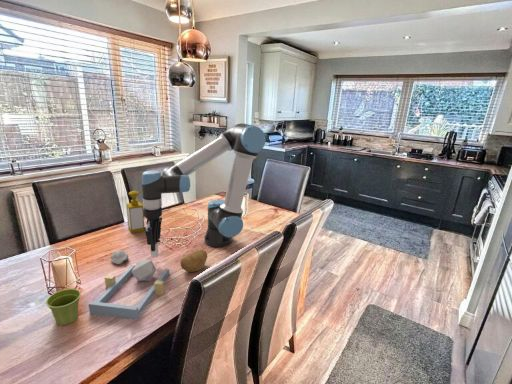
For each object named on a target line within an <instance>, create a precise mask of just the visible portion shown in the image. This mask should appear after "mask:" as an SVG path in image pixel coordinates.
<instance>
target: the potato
mask: <svg viewBox="0 0 512 384" xmlns="http://www.w3.org/2000/svg"><path fill="white" fill-rule="evenodd" d="M207 259H208V253H207V251H206V250H203V249H198V250H195V251H192V252H189V253H188V254H185V255H184V256H183V257H182V258H180V267H181V269H183V270H184V271H185V272H188V273H193V272H197V271H199V270H202V269H203V268H204V267H205V264H206V262H207Z"/></svg>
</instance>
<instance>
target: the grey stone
mask: <svg viewBox="0 0 512 384" xmlns="http://www.w3.org/2000/svg"><path fill="white" fill-rule="evenodd" d="M110 259H111V262H112V263H113V264H117V265H121V264H122V263H124V261H127V260H129V254H128V253H126V252H125V251H124V250H122V249H117V250H115V251H114V252H113V253H112V254H111V255H110Z"/></svg>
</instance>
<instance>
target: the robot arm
mask: <svg viewBox="0 0 512 384" xmlns="http://www.w3.org/2000/svg"><path fill="white" fill-rule="evenodd" d="M265 146H266V134H265V132H264V131H263V129H261V128H260V127H258V126H256V125H255V124H247V123H243V122H242V123H237V124H235V125H233V126H231V127H230V128H228V129H227V130H225V131H223V132H222V133H220V134H219V137H218V138H216V139H215V140H213V141H211V142H210V143H208V144H206V145H205V146H203V147H202V148H201V149H199V150H197V151H195V152H194V153H192V154H191V155H189V156H188V157H186V158H184V159H183V160H182V159H181V161H179V162H177V163H176V164H174V165H172V166H168V167H165V168H164V169H163V170H162V171H161V172H160V171H159V170H146V171H144V172H143V173H141V174H142V175H141V193H142V205H143V214H144V218H145V219H146V226H144V231H143V232H145V233H144V234H145V239H146V244H147V246H150V258H151V257H152V258H158V257H159V243H160V242H161V233H162V232H161V231H162V221H163V217H162V215H163V207H162V206H163V203H162V202H163V201H162V196H163V195H162V194H174V193H175V194H176V193H177V194H178V193H180V194H181V193H188V192H189V191H190V190H191V179H190V175H191V174H192V173H193V174H194V172H196V171H198V170H199V169H201V168H203V167H204V166H206V165H207V164H209V163H210V162H212V161H213V160H215V159H217V158H218V157H220V156H222V155H223V154H225V153H226V152H228V151H229V152H231V151H233V153H234V160H233V164H232V169H231V172H230V175H229V181H228V184H227V189H226V193H225V197H224V199H215V200H210V201H209V202H208V204H207V230H206V232H205V235H204V243H205V245H207V246H209V247H212V248H224V247H226V246H229V245H231V244H232V243H233V238H234V237H236V236H237V235H239V234H240V233H241V232H242V230H243V228H244V222H243V219H242V218H243V217H242V216H243V214H244V213H243V212H244V210H243V208H242V204H243V200H244V196H245V193H246V188H247V185H248V180H249V178H250V173H251V170H252V166H253V162H254V159H256V158H258V155H259V152H260V151H261V150H263V149H264V147H265Z"/></svg>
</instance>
